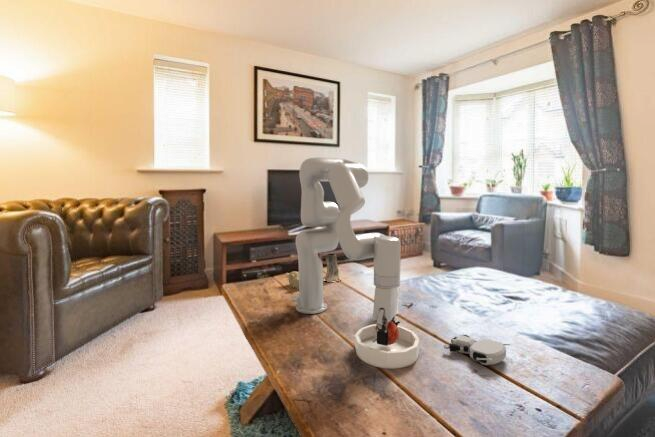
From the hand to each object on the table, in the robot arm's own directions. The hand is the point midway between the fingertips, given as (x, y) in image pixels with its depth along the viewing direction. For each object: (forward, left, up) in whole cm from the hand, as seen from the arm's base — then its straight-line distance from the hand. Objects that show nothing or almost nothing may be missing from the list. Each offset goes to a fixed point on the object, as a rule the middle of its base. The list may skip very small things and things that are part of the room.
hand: (386, 337), depth 96 cm
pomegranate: (0, 0, -2) cm, 2 cm away
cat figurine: (-55, +44, -4) cm, 71 cm away
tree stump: (-44, +61, -4) cm, 75 cm away
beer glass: (-6, +30, -4) cm, 31 cm away
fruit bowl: (0, 0, -4) cm, 4 cm away
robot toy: (+24, +8, -5) cm, 26 cm away
